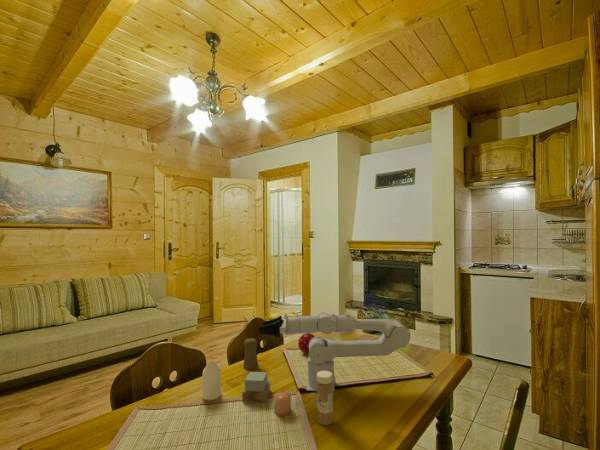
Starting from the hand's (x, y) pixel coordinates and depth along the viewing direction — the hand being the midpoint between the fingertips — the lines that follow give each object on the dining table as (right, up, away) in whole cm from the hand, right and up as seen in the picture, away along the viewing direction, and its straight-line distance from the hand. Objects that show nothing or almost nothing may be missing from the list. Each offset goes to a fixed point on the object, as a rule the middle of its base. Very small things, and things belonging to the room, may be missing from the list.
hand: (261, 327), depth 110 cm
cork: (-6, -21, +16) cm, 27 cm away
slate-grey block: (-1, -17, -7) cm, 19 cm away
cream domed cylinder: (-16, -21, -6) cm, 27 cm away
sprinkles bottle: (+21, -20, -21) cm, 36 cm away
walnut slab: (-1, -21, -7) cm, 22 cm away
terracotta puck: (+8, -20, -16) cm, 27 cm away
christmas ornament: (+17, -21, +29) cm, 40 cm away
